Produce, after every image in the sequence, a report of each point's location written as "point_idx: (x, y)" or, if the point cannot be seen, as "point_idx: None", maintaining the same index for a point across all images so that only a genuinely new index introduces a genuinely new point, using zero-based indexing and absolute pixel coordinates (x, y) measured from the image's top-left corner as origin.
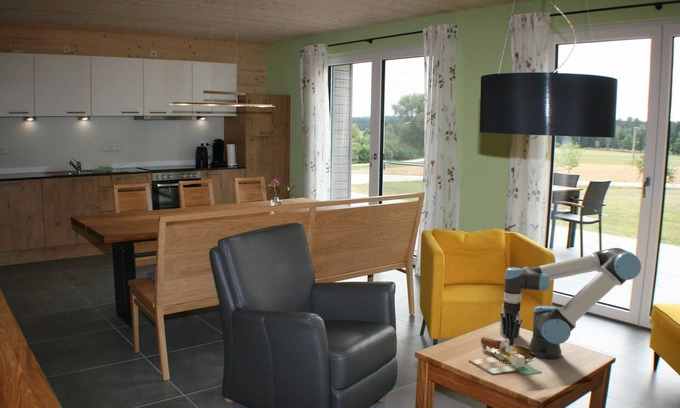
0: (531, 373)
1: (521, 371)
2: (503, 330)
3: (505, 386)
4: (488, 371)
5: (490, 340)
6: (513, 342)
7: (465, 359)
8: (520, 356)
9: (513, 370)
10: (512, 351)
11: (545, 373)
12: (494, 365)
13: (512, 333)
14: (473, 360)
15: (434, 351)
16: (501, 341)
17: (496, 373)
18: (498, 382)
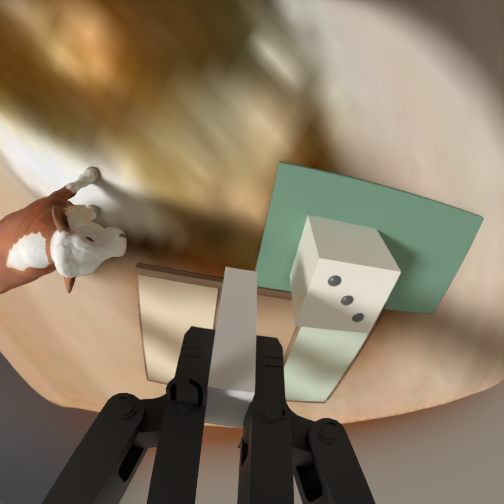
0: (451, 279)
1: (402, 301)
2: (121, 467)
3: (407, 409)
4: (296, 401)
5: (14, 283)
6: (283, 368)
7: (121, 368)
8: (372, 292)
9: (370, 331)
10: (256, 273)
11: (496, 205)
12: None
13: (307, 501)
14: (156, 373)
15: (33, 372)
16: (72, 275)
17: (331, 392)
18: (377, 411)
